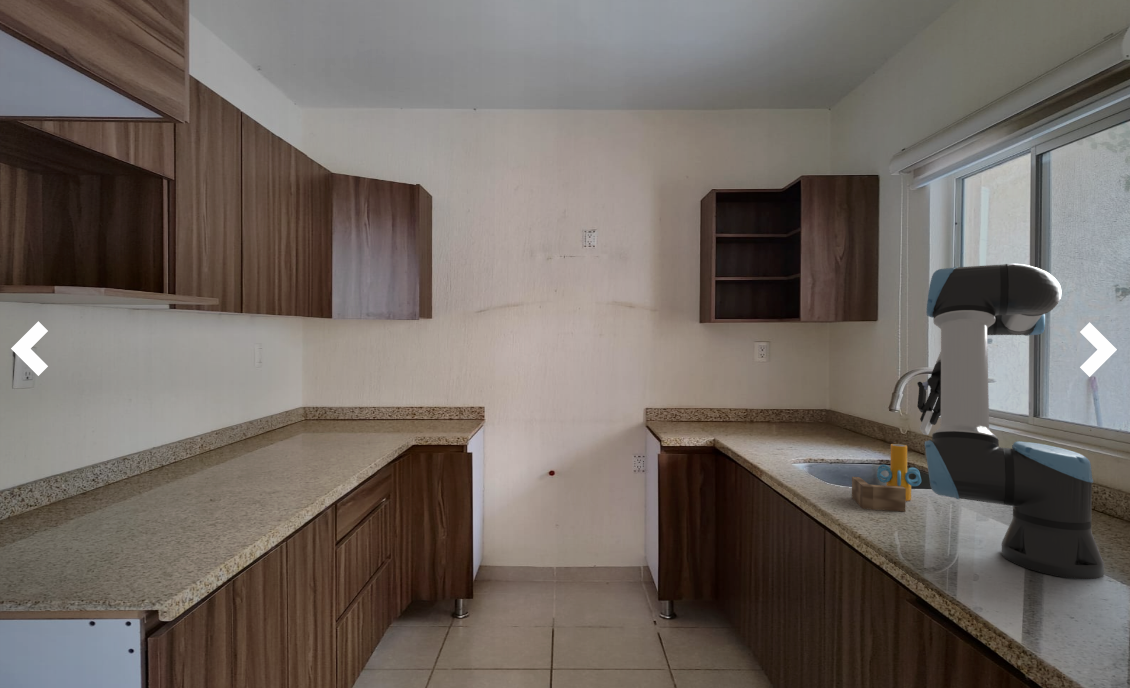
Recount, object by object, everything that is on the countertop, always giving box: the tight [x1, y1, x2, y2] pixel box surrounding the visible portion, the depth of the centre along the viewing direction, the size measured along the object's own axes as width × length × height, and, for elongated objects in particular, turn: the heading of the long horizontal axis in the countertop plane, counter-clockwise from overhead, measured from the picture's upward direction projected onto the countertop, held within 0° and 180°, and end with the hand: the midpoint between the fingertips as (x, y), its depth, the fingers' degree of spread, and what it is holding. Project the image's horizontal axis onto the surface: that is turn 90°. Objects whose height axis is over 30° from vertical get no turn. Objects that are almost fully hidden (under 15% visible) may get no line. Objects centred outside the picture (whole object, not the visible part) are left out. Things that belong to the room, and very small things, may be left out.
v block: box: [851, 476, 907, 513], centre depth 143 cm, size 9×14×6 cm, turn 32°
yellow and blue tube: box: [876, 443, 922, 502], centre depth 150 cm, size 12×10×15 cm
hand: (923, 432), depth 154 cm, fingers closed
